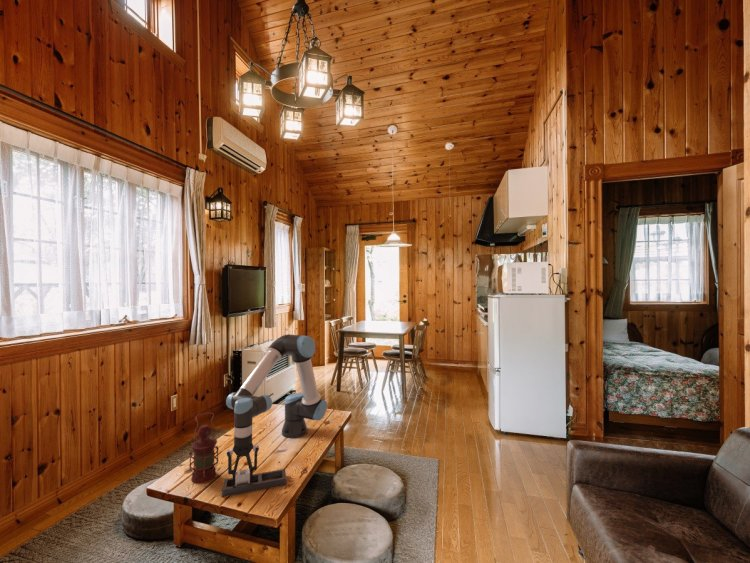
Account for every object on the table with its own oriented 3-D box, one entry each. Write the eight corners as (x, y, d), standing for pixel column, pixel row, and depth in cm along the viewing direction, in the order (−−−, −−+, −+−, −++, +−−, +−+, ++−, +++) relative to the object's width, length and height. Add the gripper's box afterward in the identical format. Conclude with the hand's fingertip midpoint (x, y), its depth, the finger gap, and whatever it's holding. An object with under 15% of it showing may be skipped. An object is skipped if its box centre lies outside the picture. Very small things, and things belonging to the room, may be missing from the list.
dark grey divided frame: (284, 475, 157) (285, 468, 157) (286, 485, 149) (286, 478, 149) (224, 486, 148) (224, 479, 148) (222, 497, 140) (222, 490, 141)
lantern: (188, 487, 147) (189, 420, 148) (189, 473, 158) (190, 410, 159) (218, 480, 153) (219, 415, 153) (217, 467, 164) (218, 406, 164)
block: (248, 484, 150) (248, 467, 150) (247, 490, 146) (248, 473, 146) (237, 486, 148) (237, 469, 148) (236, 492, 144) (237, 475, 144)
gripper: (263, 428, 154) (263, 479, 153) (222, 433, 148) (222, 486, 148) (264, 435, 147) (263, 488, 146) (220, 441, 141) (220, 496, 141)
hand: (242, 487), depth 147 cm, fingers closed on block, 4 cm apart
